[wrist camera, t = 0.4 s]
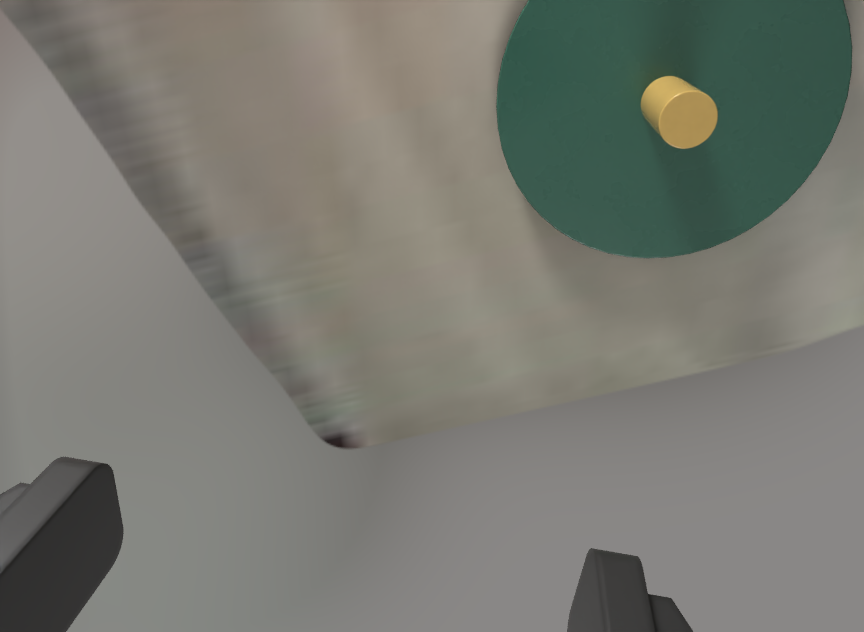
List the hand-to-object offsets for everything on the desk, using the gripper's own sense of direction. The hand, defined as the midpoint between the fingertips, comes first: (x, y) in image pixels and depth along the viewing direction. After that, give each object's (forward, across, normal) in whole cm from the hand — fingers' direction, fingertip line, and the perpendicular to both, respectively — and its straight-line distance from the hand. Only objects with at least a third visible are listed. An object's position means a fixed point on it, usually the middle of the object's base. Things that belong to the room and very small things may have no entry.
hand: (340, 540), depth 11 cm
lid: (+27, -9, -4) cm, 29 cm away
